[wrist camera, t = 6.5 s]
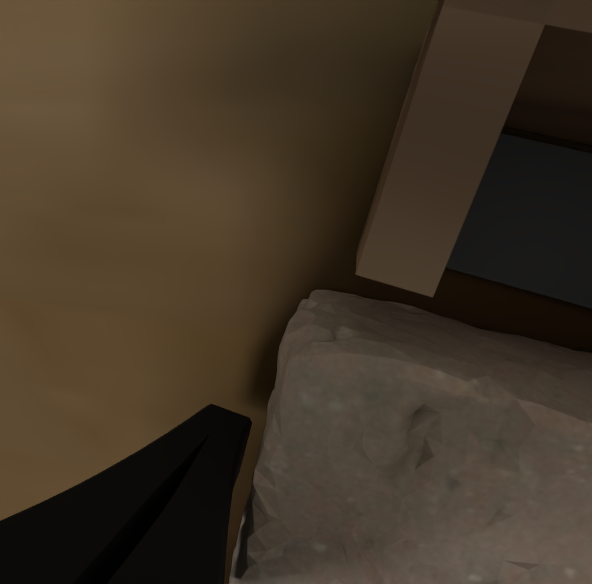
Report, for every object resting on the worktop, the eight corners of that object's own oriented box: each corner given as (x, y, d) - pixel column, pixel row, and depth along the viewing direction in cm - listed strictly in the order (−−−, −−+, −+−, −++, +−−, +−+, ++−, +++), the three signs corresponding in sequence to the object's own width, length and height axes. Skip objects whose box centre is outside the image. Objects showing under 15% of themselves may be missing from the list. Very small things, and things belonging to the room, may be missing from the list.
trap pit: (626, 317, 7) (633, 320, 7) (412, 257, 8) (413, 258, 8) (709, 183, 6) (720, 182, 6) (460, 127, 7) (464, 124, 7)
